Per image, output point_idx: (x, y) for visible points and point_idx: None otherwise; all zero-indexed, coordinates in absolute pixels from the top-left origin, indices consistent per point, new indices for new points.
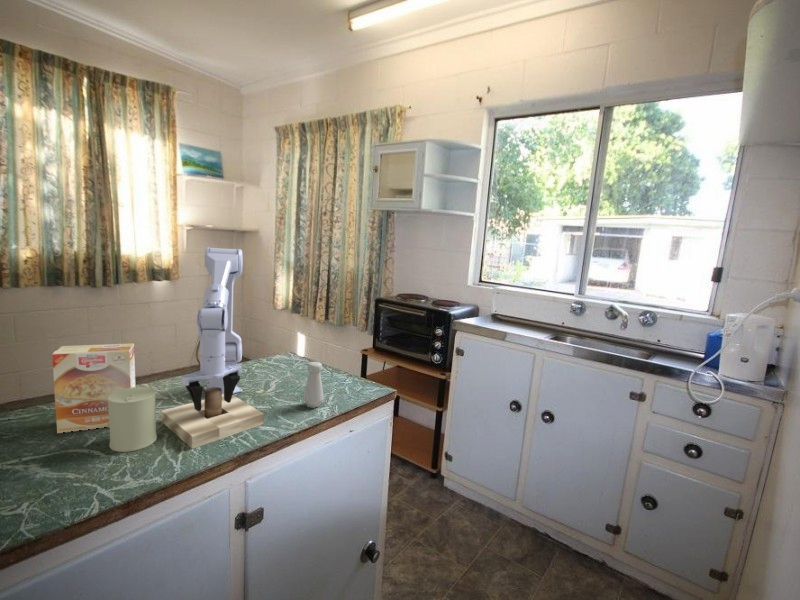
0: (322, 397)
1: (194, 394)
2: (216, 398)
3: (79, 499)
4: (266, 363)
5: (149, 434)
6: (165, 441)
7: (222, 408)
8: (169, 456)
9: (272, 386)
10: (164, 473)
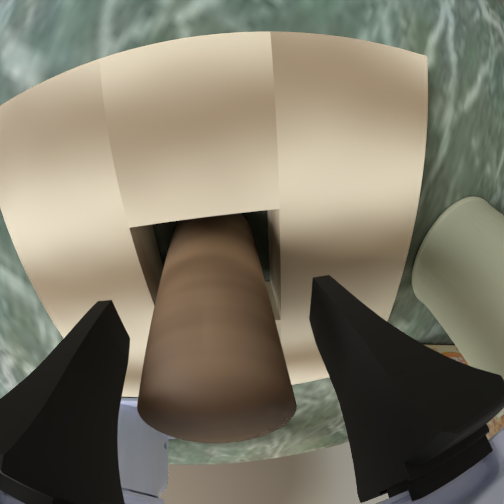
0: None
1: (451, 360)
2: (205, 322)
3: None
4: None
5: (479, 222)
6: (422, 195)
7: (151, 297)
8: (452, 80)
9: (8, 371)
10: (474, 13)
